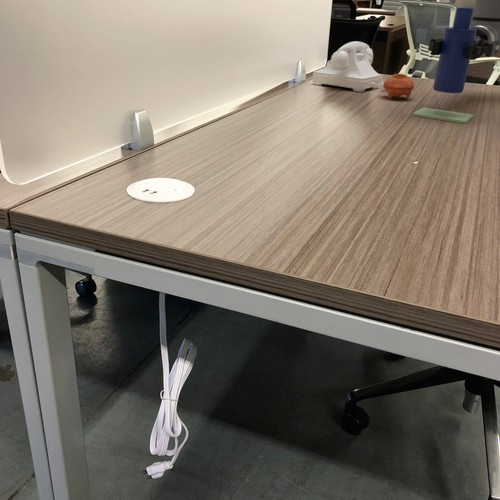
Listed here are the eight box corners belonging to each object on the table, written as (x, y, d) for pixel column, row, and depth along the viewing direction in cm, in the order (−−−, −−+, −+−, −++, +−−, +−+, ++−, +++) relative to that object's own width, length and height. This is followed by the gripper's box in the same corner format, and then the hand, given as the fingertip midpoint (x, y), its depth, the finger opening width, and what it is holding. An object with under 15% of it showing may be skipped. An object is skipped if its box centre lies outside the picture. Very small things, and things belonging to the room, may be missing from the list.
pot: (415, 96, 138) (419, 71, 134) (407, 107, 133) (410, 82, 129) (387, 91, 141) (389, 67, 137) (377, 102, 136) (380, 78, 132)
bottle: (465, 90, 116) (484, 8, 108) (458, 94, 111) (477, 9, 103) (437, 86, 119) (453, 7, 111) (429, 90, 114) (445, 7, 106)
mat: (473, 117, 118) (473, 114, 118) (465, 123, 112) (465, 121, 112) (422, 109, 124) (422, 107, 124) (412, 115, 118) (412, 113, 118)
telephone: (347, 77, 166) (352, 35, 160) (406, 85, 154) (414, 41, 148) (303, 85, 149) (306, 40, 143) (366, 96, 137) (372, 47, 131)
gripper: (513, 62, 122) (494, 74, 104) (432, 54, 131) (403, 63, 114) (522, 29, 118) (504, 34, 101) (438, 23, 127) (409, 27, 110)
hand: (450, 50), depth 107 cm, fingers closed on bottle, 6 cm apart
